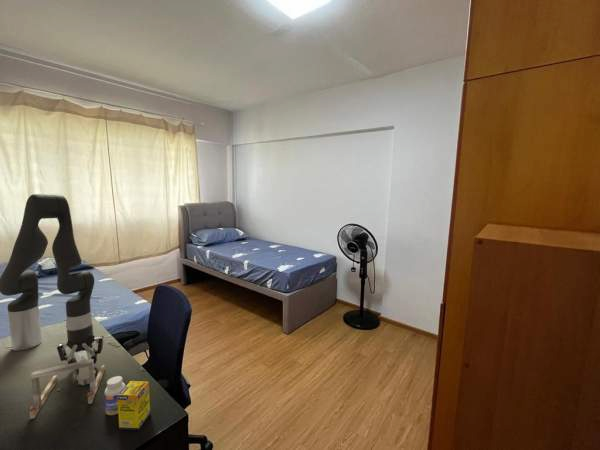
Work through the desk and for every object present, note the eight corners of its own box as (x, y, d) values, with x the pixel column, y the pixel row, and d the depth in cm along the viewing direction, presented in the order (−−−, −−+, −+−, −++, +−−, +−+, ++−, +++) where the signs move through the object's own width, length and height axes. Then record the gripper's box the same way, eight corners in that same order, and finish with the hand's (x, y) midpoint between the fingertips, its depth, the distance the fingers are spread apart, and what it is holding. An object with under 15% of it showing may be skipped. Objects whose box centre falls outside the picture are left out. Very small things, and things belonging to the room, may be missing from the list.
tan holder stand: (53, 381, 96) (50, 349, 95) (105, 369, 103) (103, 339, 101) (29, 419, 80) (24, 381, 78) (93, 402, 86) (90, 367, 85)
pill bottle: (104, 418, 81) (102, 388, 79) (107, 405, 85) (105, 377, 84) (125, 411, 83) (123, 382, 82) (127, 400, 88) (125, 372, 87)
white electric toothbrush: (86, 343, 113) (95, 362, 95) (88, 359, 113) (97, 380, 96) (70, 348, 110) (76, 368, 92) (71, 364, 110) (78, 388, 92)
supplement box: (139, 430, 77) (137, 395, 75) (118, 430, 77) (116, 395, 75) (151, 413, 82) (149, 380, 81) (131, 413, 83) (129, 380, 81)
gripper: (105, 317, 107) (107, 356, 109) (58, 324, 101) (62, 365, 103) (100, 325, 101) (103, 367, 102) (51, 333, 94) (55, 377, 96)
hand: (83, 366), depth 103 cm, fingers closed on white electric toothbrush, 6 cm apart
